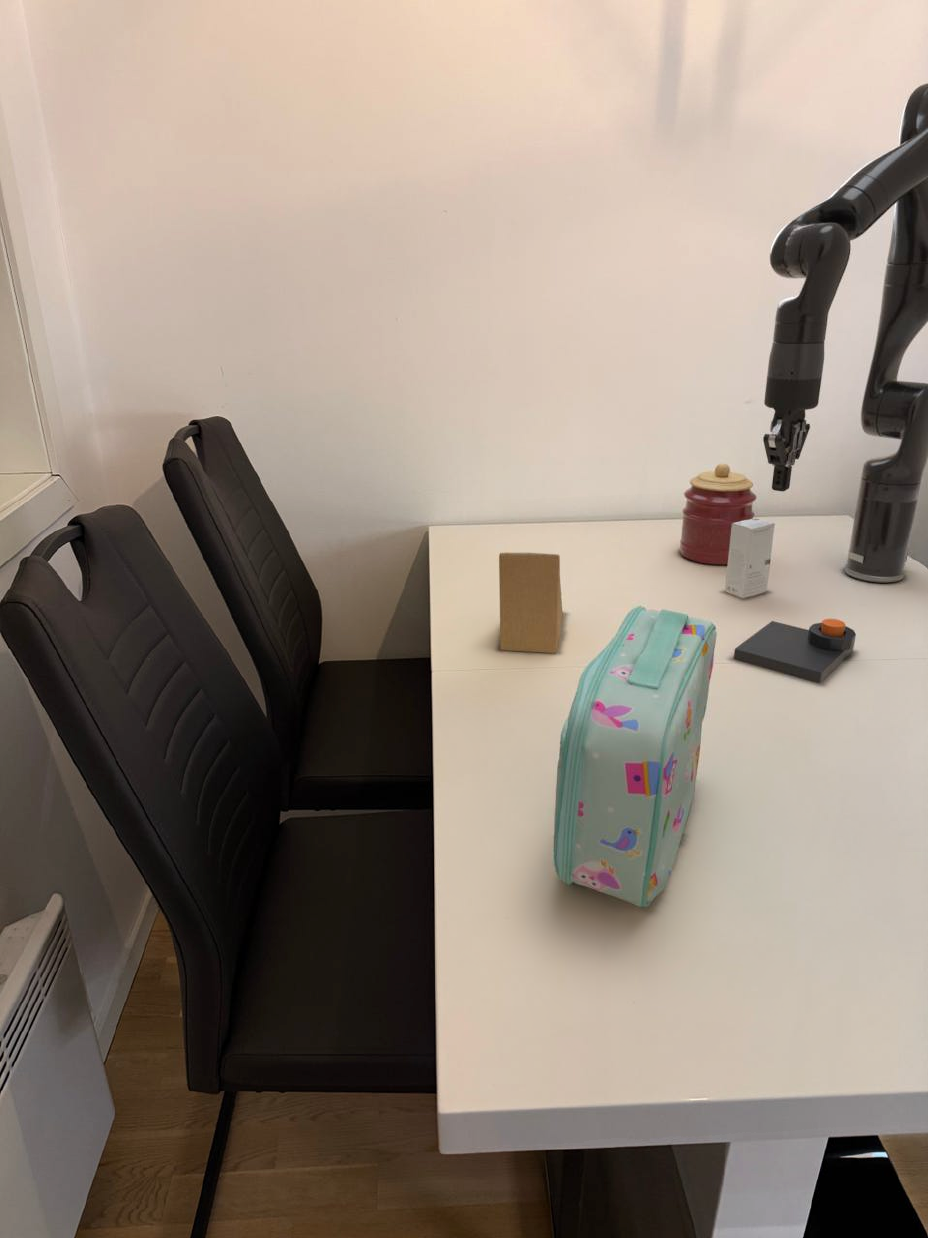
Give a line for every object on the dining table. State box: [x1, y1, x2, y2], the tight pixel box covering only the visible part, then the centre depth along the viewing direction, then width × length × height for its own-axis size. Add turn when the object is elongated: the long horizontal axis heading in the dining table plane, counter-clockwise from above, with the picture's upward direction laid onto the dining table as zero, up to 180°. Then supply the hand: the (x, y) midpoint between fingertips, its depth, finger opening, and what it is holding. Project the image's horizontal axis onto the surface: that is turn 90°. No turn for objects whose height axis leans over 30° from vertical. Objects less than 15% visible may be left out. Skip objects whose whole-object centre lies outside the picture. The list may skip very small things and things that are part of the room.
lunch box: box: [553, 605, 718, 908], centre depth 79 cm, size 27×10×21 cm, turn 157°
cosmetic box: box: [724, 518, 776, 599], centre depth 140 cm, size 6×4×12 cm
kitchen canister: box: [679, 462, 757, 565], centre depth 157 cm, size 13×13×18 cm
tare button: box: [821, 618, 846, 636], centre depth 118 cm, size 3×3×2 cm
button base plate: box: [733, 620, 857, 684], centre depth 118 cm, size 13×12×4 cm
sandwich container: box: [498, 552, 564, 654], centre depth 126 cm, size 9×15×15 cm, turn 170°
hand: (780, 489), depth 129 cm, fingers closed
